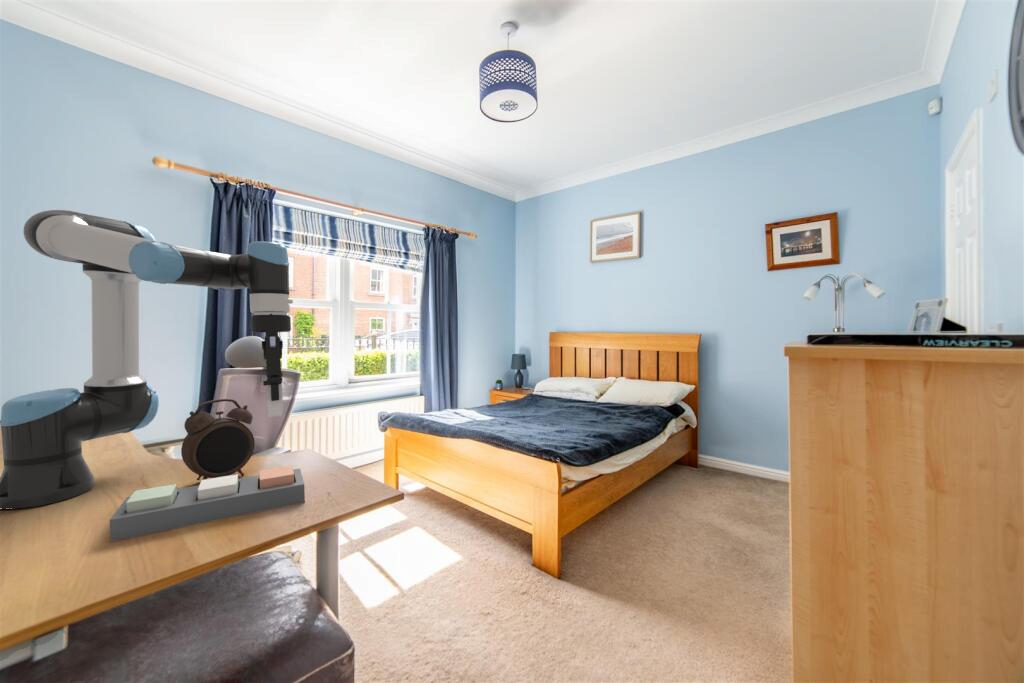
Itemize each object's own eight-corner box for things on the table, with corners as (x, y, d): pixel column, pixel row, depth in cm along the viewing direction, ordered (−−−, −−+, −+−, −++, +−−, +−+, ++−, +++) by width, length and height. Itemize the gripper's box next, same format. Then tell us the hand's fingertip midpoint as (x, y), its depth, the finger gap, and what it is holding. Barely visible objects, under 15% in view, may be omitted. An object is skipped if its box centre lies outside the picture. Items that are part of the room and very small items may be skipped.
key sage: (136, 505, 81) (135, 490, 81) (177, 498, 85) (176, 484, 85) (127, 518, 76) (126, 502, 76) (171, 510, 79) (170, 495, 79)
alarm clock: (190, 492, 94) (187, 406, 94) (180, 485, 99) (177, 402, 98) (259, 474, 106) (257, 397, 105) (248, 468, 110) (245, 394, 110)
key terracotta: (260, 483, 92) (259, 470, 92) (292, 478, 96) (292, 465, 96) (260, 493, 87) (259, 479, 87) (294, 487, 90) (294, 474, 90)
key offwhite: (202, 493, 87) (201, 480, 87) (238, 487, 90) (237, 474, 90) (198, 505, 81) (197, 490, 81) (236, 498, 85) (236, 483, 85)
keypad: (127, 516, 83) (126, 497, 82) (300, 484, 99) (300, 468, 99) (110, 541, 73) (109, 519, 73) (304, 502, 89) (304, 484, 89)
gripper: (293, 312, 81) (298, 418, 82) (287, 315, 103) (290, 400, 103) (248, 312, 77) (253, 423, 78) (252, 316, 99) (255, 403, 100)
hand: (274, 410), depth 91 cm, fingers open, 13 cm apart
